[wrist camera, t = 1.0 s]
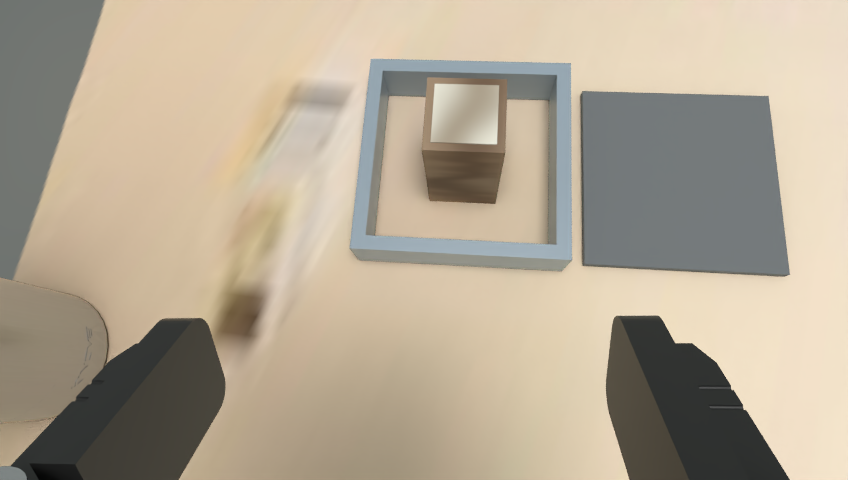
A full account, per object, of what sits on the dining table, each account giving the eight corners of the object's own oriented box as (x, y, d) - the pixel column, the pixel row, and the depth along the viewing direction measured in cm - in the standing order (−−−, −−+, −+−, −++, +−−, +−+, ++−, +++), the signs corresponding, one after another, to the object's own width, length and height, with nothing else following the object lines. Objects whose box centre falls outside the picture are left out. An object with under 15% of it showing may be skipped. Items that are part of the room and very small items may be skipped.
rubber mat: (582, 265, 38) (584, 263, 37) (580, 95, 42) (582, 91, 41) (784, 276, 37) (789, 274, 36) (764, 100, 41) (768, 96, 40)
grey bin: (359, 260, 39) (349, 248, 36) (377, 84, 43) (370, 58, 40) (561, 271, 38) (571, 260, 35) (561, 89, 42) (570, 63, 39)
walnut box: (429, 200, 40) (421, 149, 31) (434, 141, 41) (427, 76, 33) (495, 203, 40) (505, 152, 31) (497, 144, 41) (507, 78, 32)
